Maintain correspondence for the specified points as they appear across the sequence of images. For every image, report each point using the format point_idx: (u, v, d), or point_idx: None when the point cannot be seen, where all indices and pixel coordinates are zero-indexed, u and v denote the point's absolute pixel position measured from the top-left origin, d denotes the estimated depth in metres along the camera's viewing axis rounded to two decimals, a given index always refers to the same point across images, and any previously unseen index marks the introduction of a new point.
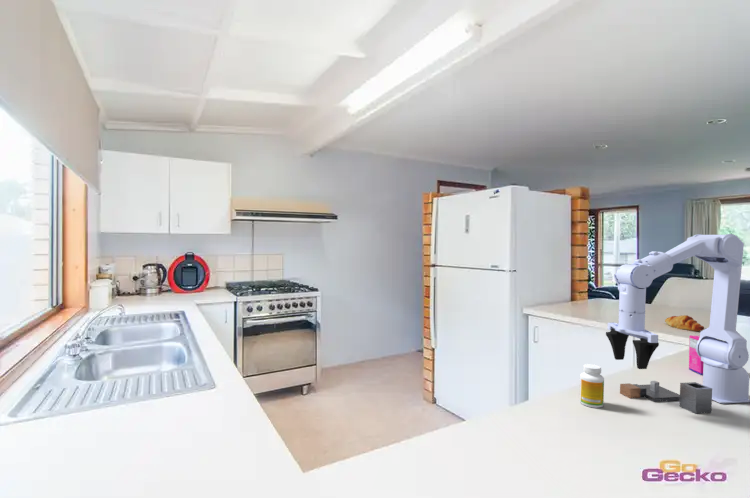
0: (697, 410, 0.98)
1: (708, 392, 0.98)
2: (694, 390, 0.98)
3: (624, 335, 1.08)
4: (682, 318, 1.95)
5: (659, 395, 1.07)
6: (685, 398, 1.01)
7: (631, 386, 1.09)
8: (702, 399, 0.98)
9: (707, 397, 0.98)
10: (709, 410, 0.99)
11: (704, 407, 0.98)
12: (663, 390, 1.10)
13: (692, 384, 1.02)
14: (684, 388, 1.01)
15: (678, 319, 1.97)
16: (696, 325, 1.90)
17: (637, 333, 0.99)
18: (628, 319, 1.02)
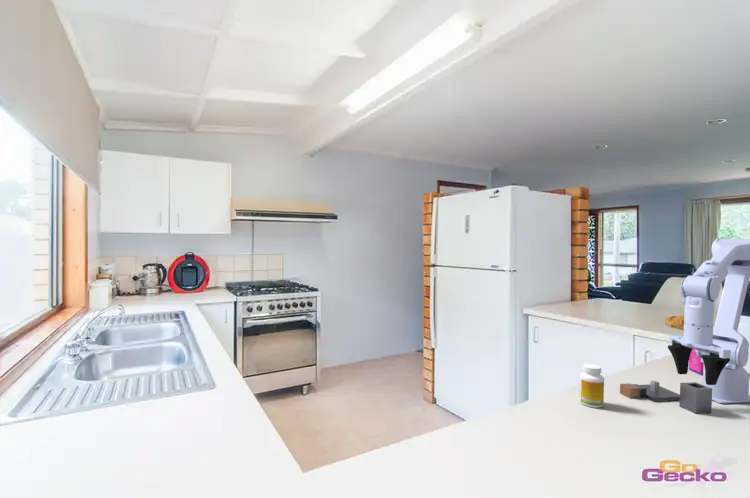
0: (697, 410, 0.98)
1: (708, 392, 0.98)
2: (694, 390, 0.98)
3: (688, 349, 1.04)
4: (682, 318, 1.95)
5: (659, 395, 1.07)
6: (685, 398, 1.01)
7: (631, 386, 1.09)
8: (702, 399, 0.98)
9: (707, 397, 0.98)
10: (709, 410, 0.99)
11: (704, 407, 0.98)
12: (663, 390, 1.10)
13: (692, 384, 1.02)
14: (684, 388, 1.01)
15: (678, 319, 1.97)
16: None
17: (707, 348, 0.96)
18: (696, 333, 0.98)
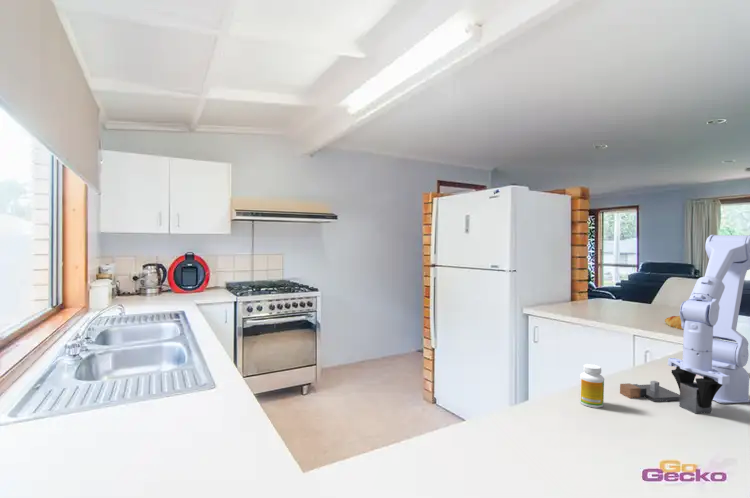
0: (697, 410, 0.98)
1: None
2: (694, 390, 0.98)
3: (691, 374, 1.03)
4: None
5: (659, 395, 1.07)
6: (685, 398, 1.01)
7: (631, 386, 1.09)
8: None
9: None
10: (709, 410, 0.99)
11: None
12: (663, 390, 1.10)
13: (692, 384, 1.02)
14: (684, 388, 1.01)
15: (677, 319, 1.97)
16: None
17: (706, 373, 0.96)
18: (695, 357, 0.98)
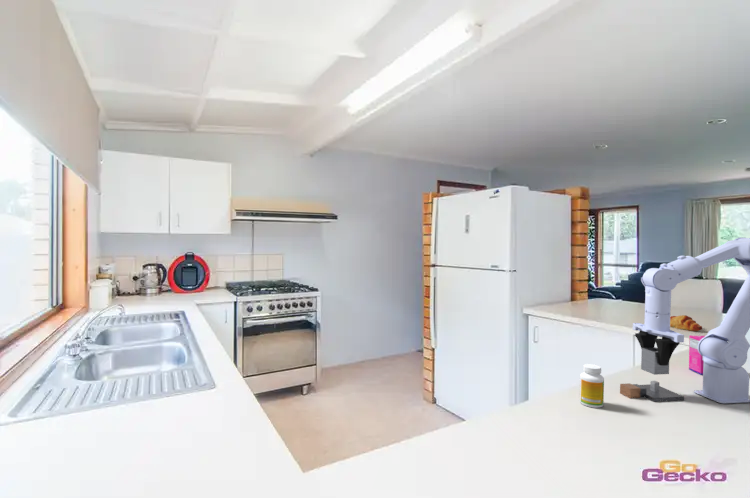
0: (656, 371, 1.07)
1: None
2: (653, 353, 1.08)
3: (653, 336, 1.12)
4: (681, 318, 1.96)
5: (659, 395, 1.07)
6: (646, 361, 1.10)
7: (631, 386, 1.09)
8: None
9: None
10: (667, 372, 1.08)
11: (662, 368, 1.08)
12: (663, 390, 1.10)
13: (652, 349, 1.11)
14: (645, 352, 1.10)
15: (677, 319, 1.97)
16: (694, 325, 1.90)
17: (663, 333, 1.05)
18: (654, 320, 1.08)
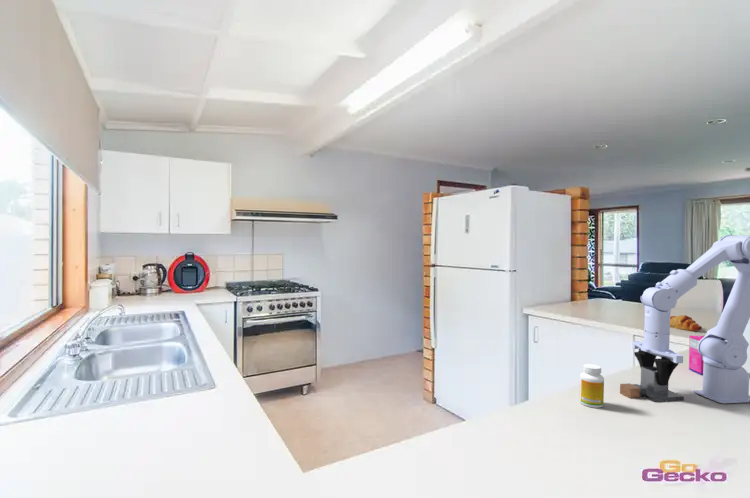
0: (655, 391, 1.08)
1: None
2: (653, 372, 1.08)
3: (652, 355, 1.12)
4: (680, 318, 1.96)
5: (659, 395, 1.07)
6: (645, 380, 1.10)
7: (631, 386, 1.09)
8: None
9: None
10: (666, 391, 1.08)
11: (661, 388, 1.08)
12: None
13: (652, 368, 1.11)
14: (644, 371, 1.11)
15: (676, 319, 1.97)
16: (694, 325, 1.90)
17: (662, 353, 1.06)
18: (654, 340, 1.08)
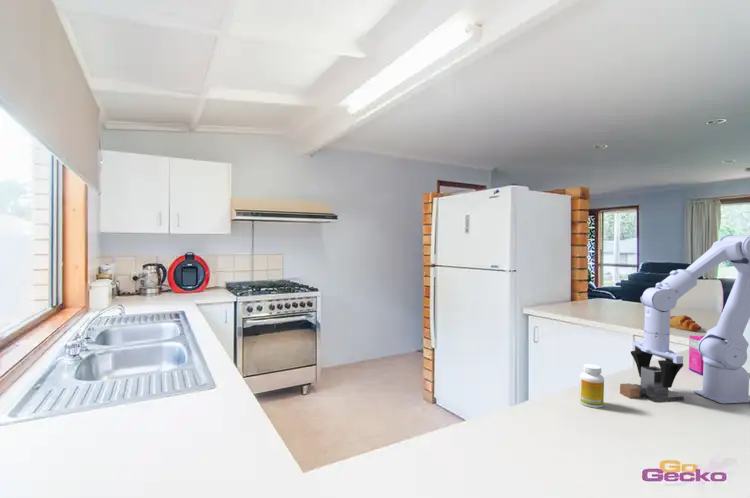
0: (655, 391, 1.08)
1: None
2: (653, 372, 1.08)
3: (648, 354, 1.14)
4: (680, 318, 1.96)
5: (659, 395, 1.07)
6: (645, 380, 1.10)
7: (631, 386, 1.09)
8: (659, 381, 1.08)
9: None
10: (666, 391, 1.08)
11: (661, 388, 1.08)
12: None
13: (652, 368, 1.11)
14: (644, 371, 1.11)
15: (676, 319, 1.97)
16: (693, 325, 1.90)
17: (662, 354, 1.06)
18: (654, 340, 1.08)
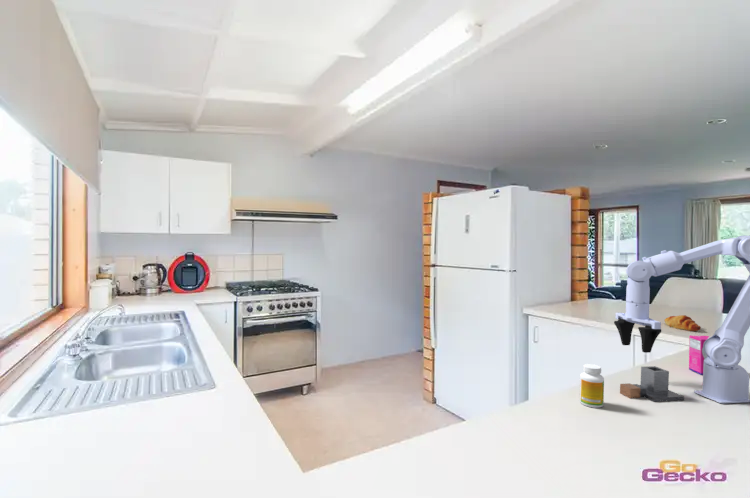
0: (655, 391, 1.08)
1: (665, 374, 1.08)
2: (653, 372, 1.08)
3: (630, 323, 1.22)
4: (679, 318, 1.96)
5: (659, 395, 1.07)
6: (645, 380, 1.10)
7: (631, 386, 1.09)
8: (659, 381, 1.08)
9: (664, 379, 1.08)
10: (666, 391, 1.08)
11: (661, 388, 1.08)
12: None
13: (652, 368, 1.11)
14: (644, 371, 1.11)
15: (675, 319, 1.97)
16: (693, 325, 1.90)
17: (642, 321, 1.13)
18: (634, 309, 1.16)
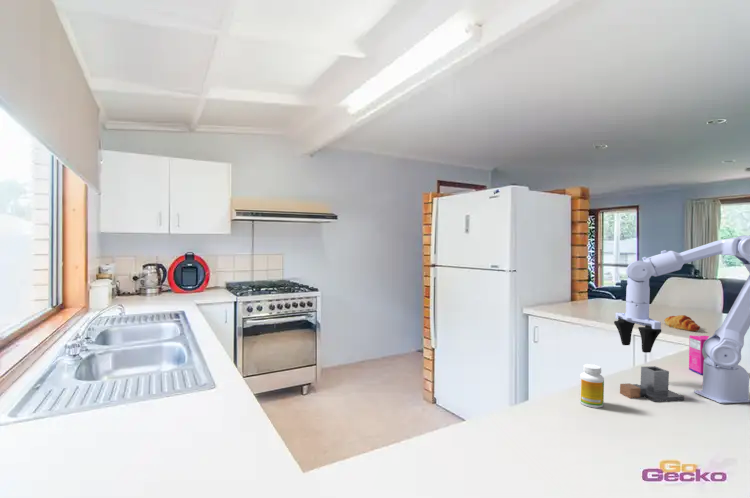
0: (655, 391, 1.08)
1: (665, 374, 1.08)
2: (653, 372, 1.08)
3: (630, 323, 1.22)
4: (679, 318, 1.96)
5: (659, 395, 1.07)
6: (645, 380, 1.10)
7: (631, 386, 1.09)
8: (659, 381, 1.08)
9: (664, 379, 1.08)
10: (666, 391, 1.08)
11: (661, 388, 1.08)
12: None
13: (652, 368, 1.11)
14: (644, 371, 1.11)
15: (675, 319, 1.97)
16: (692, 325, 1.90)
17: (642, 321, 1.13)
18: (634, 309, 1.16)
